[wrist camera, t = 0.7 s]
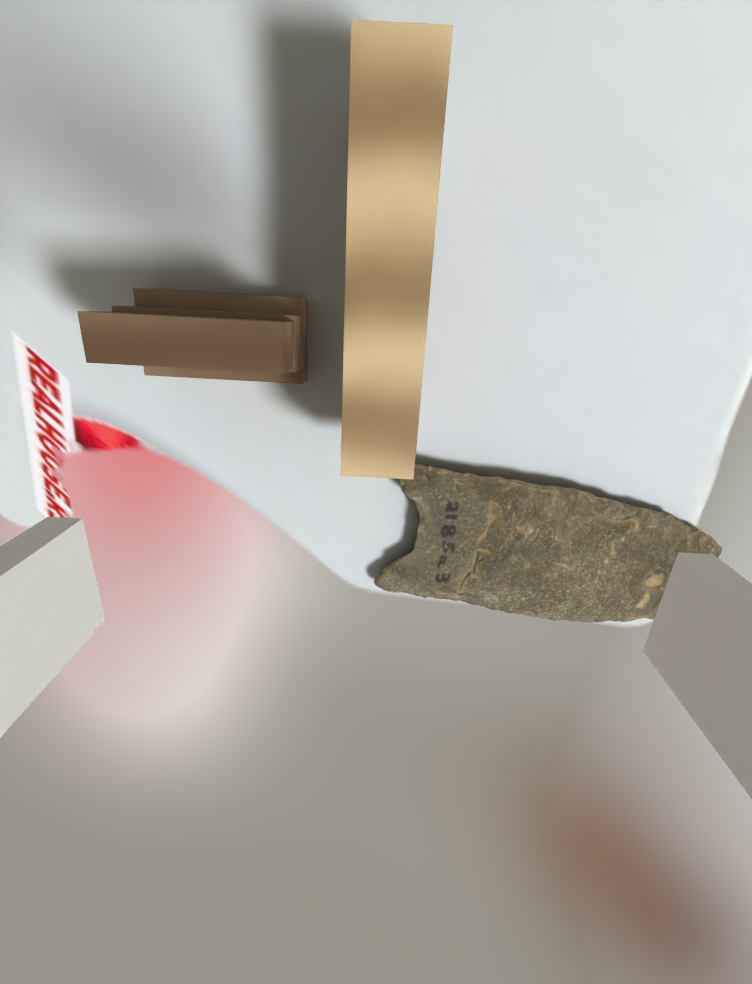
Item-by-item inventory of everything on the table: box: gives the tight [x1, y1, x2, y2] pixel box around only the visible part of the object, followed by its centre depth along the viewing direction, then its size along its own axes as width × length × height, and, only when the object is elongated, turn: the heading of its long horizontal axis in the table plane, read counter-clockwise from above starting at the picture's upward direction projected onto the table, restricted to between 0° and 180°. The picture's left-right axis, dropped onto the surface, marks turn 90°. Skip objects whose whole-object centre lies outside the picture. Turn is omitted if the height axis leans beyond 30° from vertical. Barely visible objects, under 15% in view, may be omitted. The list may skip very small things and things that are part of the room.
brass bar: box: [341, 20, 453, 479], centre depth 23 cm, size 19×4×4 cm, turn 177°
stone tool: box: [374, 464, 722, 623], centre depth 33 cm, size 11×3×25 cm
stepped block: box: [77, 288, 307, 384], centre depth 26 cm, size 5×10×7 cm, turn 87°
